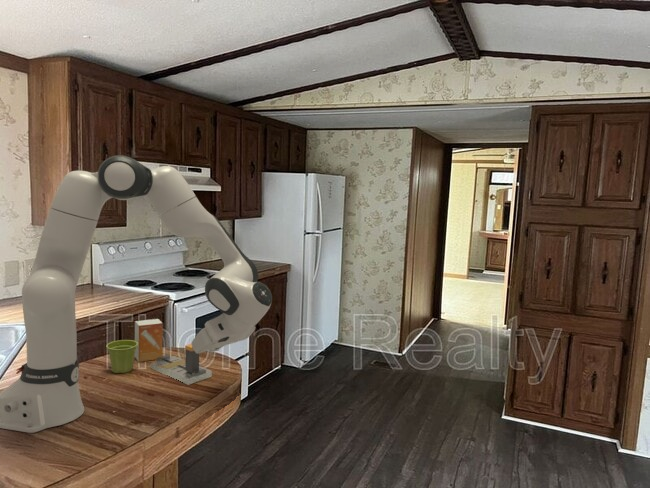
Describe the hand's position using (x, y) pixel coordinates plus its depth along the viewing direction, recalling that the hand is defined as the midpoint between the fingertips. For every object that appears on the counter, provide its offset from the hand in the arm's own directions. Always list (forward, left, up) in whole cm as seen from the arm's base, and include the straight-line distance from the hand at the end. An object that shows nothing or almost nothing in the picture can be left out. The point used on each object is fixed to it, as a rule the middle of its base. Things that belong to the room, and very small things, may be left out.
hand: (212, 349), depth 144 cm
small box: (-27, +21, -11) cm, 37 cm away
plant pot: (-31, +9, -11) cm, 35 cm away
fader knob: (-8, +6, -9) cm, 13 cm away
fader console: (-12, +9, -11) cm, 19 cm away
